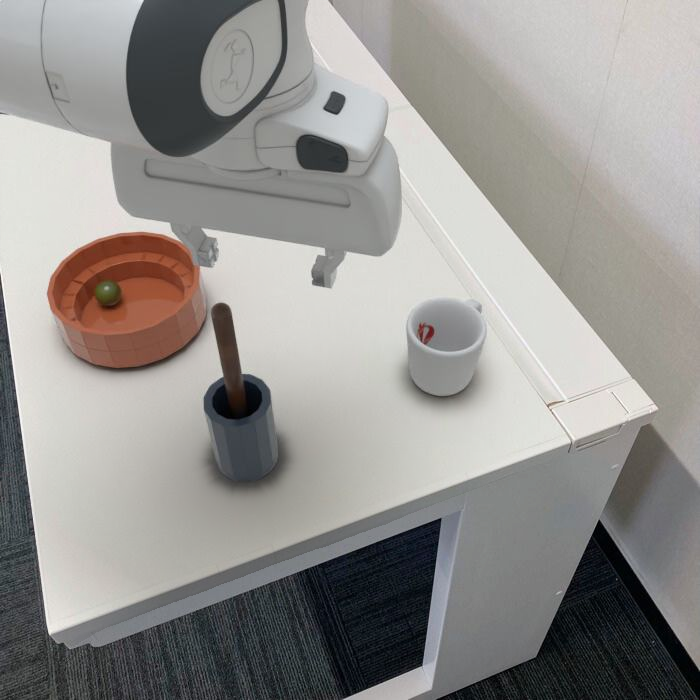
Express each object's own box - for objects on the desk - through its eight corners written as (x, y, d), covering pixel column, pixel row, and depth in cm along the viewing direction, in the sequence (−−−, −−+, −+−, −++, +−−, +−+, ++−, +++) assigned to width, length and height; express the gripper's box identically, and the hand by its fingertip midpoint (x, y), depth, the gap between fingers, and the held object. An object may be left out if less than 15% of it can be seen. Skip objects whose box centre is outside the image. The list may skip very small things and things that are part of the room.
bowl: (144, 394, 81) (131, 356, 76) (32, 337, 86) (14, 298, 82) (235, 300, 90) (229, 261, 86) (129, 254, 96) (118, 215, 91)
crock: (255, 492, 73) (245, 437, 66) (203, 465, 75) (189, 408, 68) (290, 447, 76) (284, 389, 69) (240, 421, 78) (229, 364, 72)
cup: (441, 323, 87) (447, 270, 81) (503, 354, 84) (515, 301, 78) (388, 383, 82) (390, 331, 76) (453, 418, 78) (461, 367, 72)
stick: (248, 460, 74) (221, 315, 59) (235, 453, 75) (205, 308, 60) (258, 448, 75) (234, 302, 60) (244, 442, 76) (217, 295, 61)
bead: (112, 315, 87) (105, 296, 85) (92, 305, 88) (85, 286, 86) (130, 299, 89) (124, 280, 87) (110, 290, 90) (104, 271, 88)
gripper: (71, 112, 48) (121, 276, 58) (391, 157, 45) (385, 323, 55) (116, 64, 52) (155, 225, 62) (412, 102, 49) (402, 265, 59)
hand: (264, 271), depth 59 cm, fingers open, 8 cm apart
